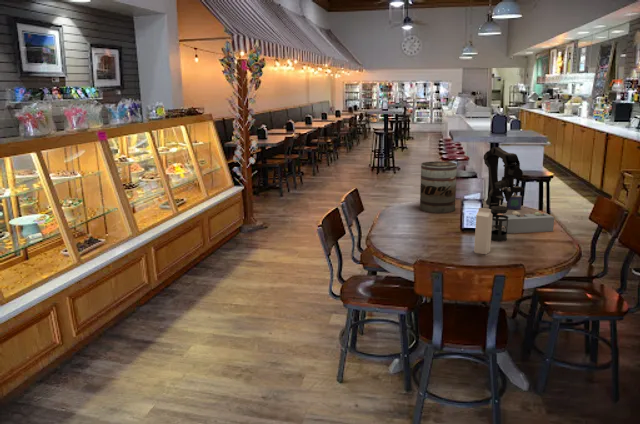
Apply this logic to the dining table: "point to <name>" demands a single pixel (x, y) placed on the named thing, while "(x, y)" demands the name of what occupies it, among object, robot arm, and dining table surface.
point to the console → (528, 223)
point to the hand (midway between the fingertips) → (507, 201)
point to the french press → (499, 222)
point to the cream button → (516, 213)
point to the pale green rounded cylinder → (537, 214)
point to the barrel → (438, 187)
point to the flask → (514, 202)
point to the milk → (483, 231)
